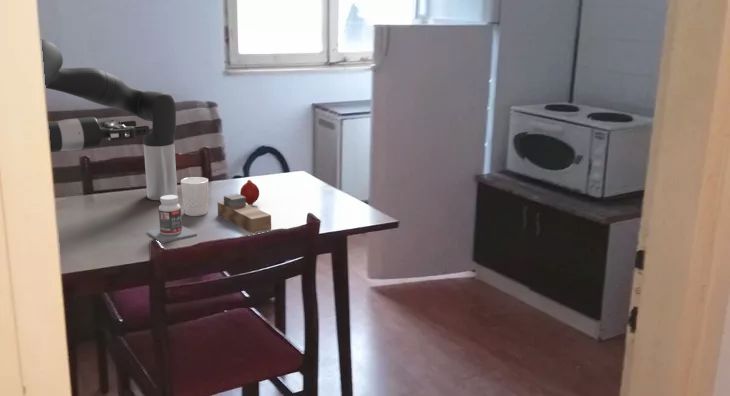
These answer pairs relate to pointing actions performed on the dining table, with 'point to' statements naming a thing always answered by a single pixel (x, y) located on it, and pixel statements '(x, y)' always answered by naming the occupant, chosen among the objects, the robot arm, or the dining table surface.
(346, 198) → the dining table surface
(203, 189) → the white cup
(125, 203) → the dining table surface
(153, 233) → the grey pad
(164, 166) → the robot arm
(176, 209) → the pill bottle
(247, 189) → the onion
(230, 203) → the wooden block
